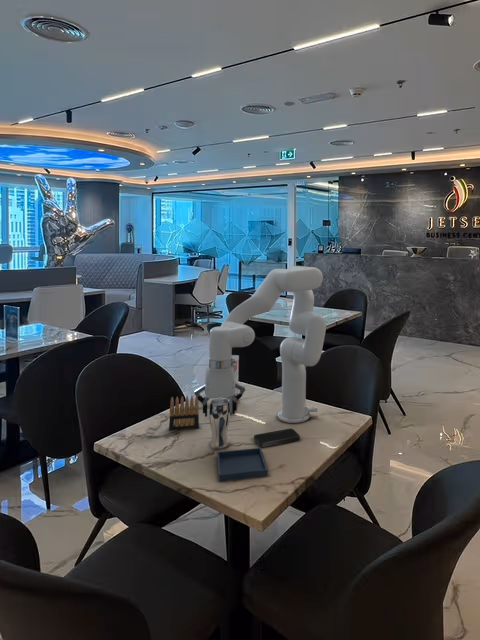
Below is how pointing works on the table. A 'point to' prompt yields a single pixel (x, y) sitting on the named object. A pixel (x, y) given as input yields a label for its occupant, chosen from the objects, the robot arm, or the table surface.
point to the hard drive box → (236, 368)
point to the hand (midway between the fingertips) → (219, 413)
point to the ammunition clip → (186, 420)
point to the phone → (276, 437)
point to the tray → (241, 464)
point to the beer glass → (219, 422)
